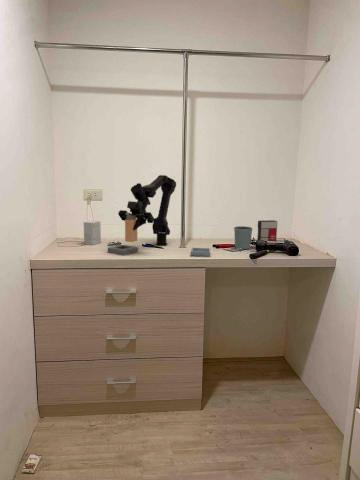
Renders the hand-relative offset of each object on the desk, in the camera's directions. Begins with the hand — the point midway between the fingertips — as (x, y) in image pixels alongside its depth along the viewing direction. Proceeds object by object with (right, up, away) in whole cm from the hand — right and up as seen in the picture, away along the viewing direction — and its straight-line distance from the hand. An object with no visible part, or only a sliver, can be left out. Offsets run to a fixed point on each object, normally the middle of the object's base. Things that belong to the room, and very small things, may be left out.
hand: (129, 229), depth 190 cm
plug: (0, -6, +2) cm, 6 cm away
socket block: (-4, -12, +6) cm, 15 cm away
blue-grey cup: (+61, -10, +27) cm, 67 cm away
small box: (-26, -8, +32) cm, 42 cm away
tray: (+36, -13, +9) cm, 39 cm away
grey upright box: (+77, -9, +36) cm, 85 cm away
